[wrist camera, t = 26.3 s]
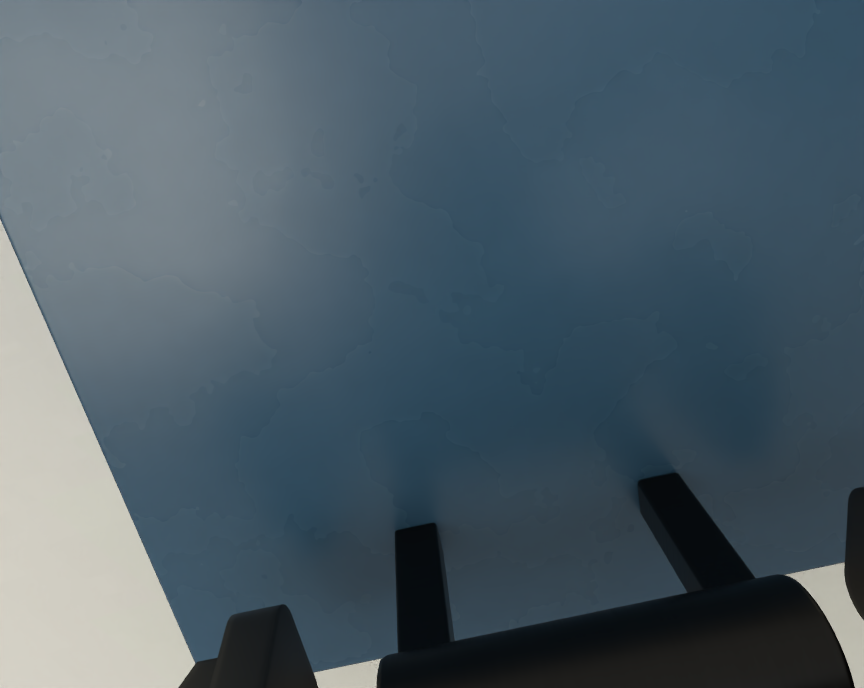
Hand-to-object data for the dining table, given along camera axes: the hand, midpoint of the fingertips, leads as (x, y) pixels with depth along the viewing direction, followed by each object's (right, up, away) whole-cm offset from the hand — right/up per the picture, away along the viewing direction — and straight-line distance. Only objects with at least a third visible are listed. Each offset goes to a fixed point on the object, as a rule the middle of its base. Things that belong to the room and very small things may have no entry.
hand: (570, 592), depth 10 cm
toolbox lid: (-2, +7, 0) cm, 7 cm away
